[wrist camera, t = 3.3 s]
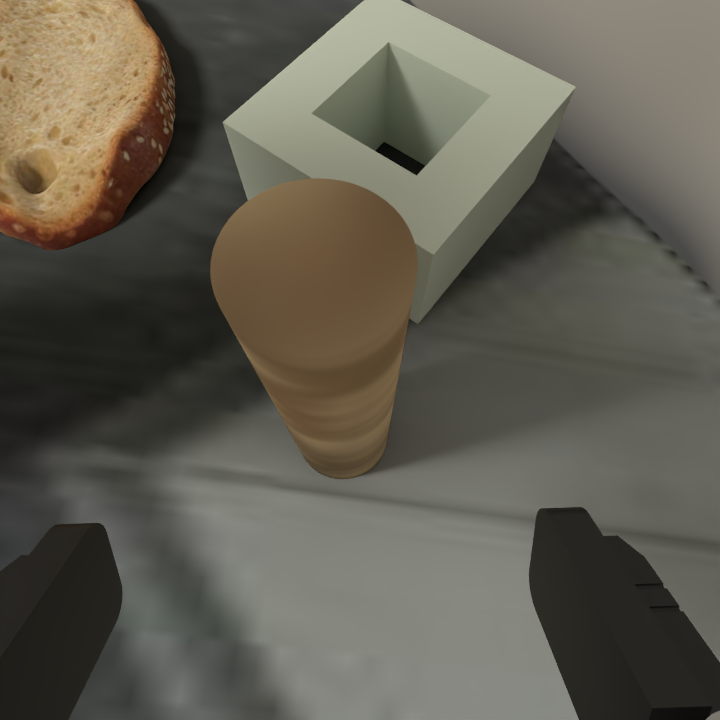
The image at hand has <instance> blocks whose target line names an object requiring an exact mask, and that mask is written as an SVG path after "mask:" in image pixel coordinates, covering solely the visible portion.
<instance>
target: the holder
mask: <svg viewBox="0 0 720 720" xmlns="http://www.w3.org/2000/svg"><path fill="white" fill-rule="evenodd" d="M575 88H576V87H575V86H573V85H571V84H569V83H567V82H565V81H563V80H560V79H559V78H557V77H555V76H553V75H551V74H549V73H547V72H545V71H543V70H541V69H538V68H537V67H534V66H532V65H530V64H528V63H526V62H524V61H522V60H520V59H518V58H516V57H514V56H512V55H510V54H508V53H506V52H504V51H502V50H500V49H498V48H496V47H494V46H492V45H490V44H488V43H486V42H484V41H482V40H479V39H478V38H476V37H474V36H472V35H470V34H468V33H466V32H464V31H462V30H460V29H458V28H456V27H453V26H452V25H449V24H448V23H446V22H444V21H441V20H439V19H437V18H435V17H433V16H431V15H429V14H427V13H425V12H423V11H421V10H419V9H417V8H415V7H413V6H411V5H409V4H407V3H405V2H403V1H401V0H364V1H363V2H362V3H360V4H359V5H358V6H357V7H356V8H355V9H354V10H352V11H351V12H350V13H349V14H348V15H347V16H345V17H344V18H343V19H342V20H341V21H340V22H338V23H337V24H336V25H335V26H334V27H333V28H331V29H330V30H329V31H328V32H327V33H326V34H325V35H323V36H322V37H321V38H320V39H319V40H318V41H316V42H315V43H314V44H313V45H312V46H311V47H309V48H308V49H307V50H306V51H305V52H304V53H303V54H301V55H300V56H299V57H298V58H297V59H296V60H294V61H293V62H292V63H291V64H290V65H289V66H287V67H286V68H285V69H284V70H283V71H282V72H280V73H279V74H278V75H277V76H276V77H275V78H274V79H272V80H271V81H270V82H269V83H268V84H267V85H265V86H264V87H263V88H262V89H261V90H260V91H258V92H257V93H256V94H255V95H254V96H253V97H251V98H250V99H249V100H248V101H247V102H246V103H245V104H243V105H242V106H241V107H240V108H239V109H238V110H236V111H235V112H234V113H233V114H232V115H231V116H229V117H228V118H227V119H226V120H225V121H224V122H223V124H224V127H225V131H226V134H227V137H228V140H229V143H230V146H231V149H232V152H233V155H234V159H235V162H236V165H237V168H238V171H239V174H240V177H241V180H242V183H243V187H244V190H245V193H246V196H247V199H248V201H249V200H250V199H252V198H253V197H255V196H256V195H258V194H260V193H261V192H263V191H265V190H267V189H269V188H272V187H275V186H277V185H280V184H283V183H287V182H291V181H295V180H302V179H314V178H323V179H334V180H341V181H345V182H349V183H353V184H356V185H358V186H361V187H363V188H366V189H368V190H370V191H372V192H373V193H375V194H377V195H378V196H380V197H381V198H383V199H384V200H386V201H387V202H388V203H389V204H390V205H391V206H392V207H393V208H395V209H396V211H397V212H398V213H399V214H400V215H401V217H402V218H403V219H404V221H405V222H406V224H407V226H408V227H409V229H410V232H411V234H412V236H413V239H414V242H415V246H416V250H417V258H418V267H417V277H416V282H415V288H414V293H413V299H412V305H411V310H410V316H409V319H411V320H412V321H414V322H415V323H417V324H419V323H420V321H421V320H422V319H423V318H424V316H425V315H426V314H427V313H428V311H429V310H430V309H431V308H432V307H433V305H434V304H435V303H436V302H437V300H438V299H439V298H440V297H441V296H442V294H443V293H444V292H445V291H446V289H447V288H448V287H449V286H450V284H451V283H452V282H453V281H454V280H455V278H456V277H457V276H458V275H459V273H460V272H461V271H462V270H463V269H464V267H465V266H466V265H467V264H468V262H469V261H470V260H471V259H472V257H473V256H474V255H475V254H476V253H477V251H478V250H479V249H480V248H481V246H482V245H483V244H484V243H485V242H486V240H487V239H488V238H489V237H490V235H491V234H492V233H493V232H494V231H495V229H496V228H497V227H498V226H499V224H500V223H501V222H502V221H503V219H504V218H505V217H506V216H507V215H508V213H509V212H510V211H511V210H512V208H513V207H514V206H515V205H516V204H517V202H518V201H519V200H520V199H521V197H522V196H523V195H524V194H525V192H526V191H527V190H528V189H529V188H530V186H531V185H532V184H533V183H534V181H535V179H536V176H537V174H538V172H539V170H540V167H541V165H542V163H543V161H544V158H545V156H546V154H547V151H548V149H549V147H550V145H551V142H552V140H553V138H554V136H555V133H556V131H557V129H558V127H559V124H560V122H561V120H562V118H563V115H564V113H565V111H566V108H567V106H568V104H569V102H570V99H571V97H572V95H573V92H574V90H575ZM383 142H385V143H387V144H389V145H390V146H392V147H394V148H396V149H397V150H399V151H401V152H403V153H404V154H406V155H408V156H409V157H411V158H413V159H415V160H416V161H418V162H420V163H421V164H423V165H425V167H424V168H423V169H422V171H421V172H420V173H419V174H418V175H417V176H416V175H415V174H413V173H411V172H410V171H408V170H406V169H405V168H403V167H401V166H399V165H398V164H396V163H394V162H393V161H391V160H389V159H388V158H386V157H384V156H383V155H381V154H379V153H377V152H376V150H377V149H378V148H379V146H380V145H381V144H382V143H383Z"/></svg>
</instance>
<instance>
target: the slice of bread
mask: <svg viewBox="0 0 720 720" xmlns="http://www.w3.org/2000/svg"><path fill="white" fill-rule="evenodd" d="M174 87H175V79H174V76H173V73H172V70H171V65H170V62H169V59H168V55H167V53H166V51H165V49H164V47H163V45H162V43H161V41H160V39H159V37H158V36H157V35H156V33H155V31H154V30H153V29H152V27H151V26H150V25H149V23H148V22H147V20H146V18H145V17H144V15H143V13H142V11H141V9H140V8H139V6H138V5H137V4H136V2H135V1H134V0H0V232H2V233H4V234H5V235H8V236H10V237H13V238H16V239H20V240H23V241H26V242H29V243H32V244H34V245H36V246H39V247H41V248H43V249H45V250H59V249H64V248H67V247H70V246H72V245H75V244H77V243H80V242H82V241H85V240H87V239H90V238H92V237H95V236H97V235H99V234H102V233H104V232H106V231H108V230H110V229H111V228H113V227H114V226H116V225H117V224H118V223H119V222H120V221H121V219H122V218H123V215H124V212H125V210H126V208H127V207H128V205H129V204H130V202H131V201H132V199H133V198H134V196H135V195H136V194H137V192H138V191H139V189H140V188H141V187H142V186H143V185H144V184H145V183H146V182H147V181H148V180H149V179H150V178H151V177H152V176H153V175H154V174H155V172H156V171H157V169H158V168H159V166H160V165H161V163H162V161H163V159H164V157H165V155H166V153H167V151H168V148H169V145H170V142H171V140H172V137H173V124H174V120H175V91H174Z"/></svg>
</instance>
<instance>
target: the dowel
mask: <svg viewBox="0 0 720 720" xmlns="http://www.w3.org/2000/svg"><path fill="white" fill-rule="evenodd" d="M417 267H418V258H417V250H416V246H415V242H414V239H413V236H412V234H411V232H410V229H409V227H408V226H407V224H406V222H405V221H404V219H403V218H402V217H401V215H400V214H399V213H398V212H397V211H396V209H395V208H393V207H392V206H391V205H390V204H389V203H388V202H387V201H386V200H384V199H383V198H381V197H380V196H378V195H377V194H375V193H373V192H372V191H370V190H368V189H366V188H363V187H361V186H358V185H356V184H353V183H349V182H345V181H341V180H334V179H323V178H314V179H302V180H295V181H291V182H287V183H283V184H280V185H277V186H275V187H272V188H269V189H267V190H265V191H263V192H261V193H260V194H258V195H256V196H255V197H253V198H252V199H250V200H249V201H247V202H246V203H245V204H244V205H242V206H241V207H240V208H239V209H238V210H237V211H236V212H235V213H234V214H233V215H232V216H231V217H230V219H229V220H228V221H227V223H226V224H225V225H224V227H223V228H222V230H221V232H220V234H219V236H218V238H217V240H216V243H215V246H214V248H213V253H212V258H211V268H210V275H211V284H212V288H213V292H214V296H215V298H216V300H217V303H218V305H219V307H220V309H221V311H222V312H223V314H224V316H225V318H226V319H227V321H228V323H229V325H230V326H231V328H232V330H233V332H234V334H235V335H236V337H237V339H238V341H239V342H240V344H241V346H242V348H243V350H244V351H245V353H246V355H247V357H248V358H249V360H250V362H251V364H252V366H253V367H254V369H255V371H256V373H257V374H258V376H259V378H260V380H261V382H262V383H263V385H264V387H265V389H266V390H267V392H268V394H269V396H270V398H271V399H272V401H273V403H274V405H275V406H276V408H277V410H278V412H279V414H280V415H281V417H282V419H283V421H284V422H285V424H286V426H287V428H288V430H289V431H290V433H291V435H292V437H293V438H294V440H295V442H296V444H297V446H298V447H299V449H300V451H301V453H302V454H303V456H304V458H305V459H306V461H307V462H308V463H309V465H310V466H311V467H312V468H314V469H315V470H316V471H318V472H319V473H321V474H323V475H325V476H328V477H331V478H335V479H349V478H354V477H357V476H360V475H362V474H364V473H366V472H367V471H369V470H370V469H371V468H372V467H374V466H375V465H376V463H377V462H378V461H379V460H380V458H381V457H382V455H383V453H384V450H385V447H386V443H387V438H388V432H389V427H390V421H391V416H392V410H393V404H394V399H395V393H396V388H397V382H398V377H399V371H400V366H401V360H402V355H403V349H404V343H405V338H406V332H407V327H408V321H409V316H410V310H411V305H412V299H413V293H414V288H415V282H416V277H417Z"/></svg>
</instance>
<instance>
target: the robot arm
mask: <svg viewBox="0 0 720 720" xmlns="http://www.w3.org/2000/svg"><path fill="white" fill-rule="evenodd" d="M529 583H530V591H531V596H532V600H533V604H534V607H535V610H536V612H537V615H538V617H539V620H540V622H541V625H542V627H543V630H544V632H545V635H546V638H547V640H548V643H549V645H550V648H551V650H552V653H553V655H554V658H555V660H556V663H557V665H558V668H559V670H560V673H561V675H562V678H563V680H564V683H565V685H566V688H567V690H568V693H569V695H570V698H571V701H572V703H573V706H574V708H575V711H576V713H577V716H578V718H579V720H720V662H719V661H718V660H717V658H716V657H715V655H714V654H713V653H712V651H711V650H710V648H709V647H708V646H707V644H706V643H705V641H704V640H703V639H702V637H701V636H700V634H699V633H698V632H697V630H696V629H695V627H694V626H693V624H692V623H691V622H690V620H689V619H688V617H687V616H686V615H685V613H684V612H683V611H680V609H679V605H678V603H677V602H676V601H675V599H674V598H673V596H672V595H671V594H670V592H669V591H668V589H664V587H663V582H662V581H661V580H660V578H659V577H658V575H657V574H656V573H655V571H654V570H653V568H652V567H651V565H650V564H649V563H648V561H647V560H646V558H645V557H644V556H642V555H641V554H640V553H639V552H637V551H636V550H635V549H634V548H632V547H631V546H630V545H629V544H627V543H626V542H625V541H623V540H622V539H621V538H620V537H618V536H603V535H602V533H601V532H600V530H599V529H598V527H597V526H596V524H595V523H594V521H593V519H592V518H591V516H590V515H589V513H588V512H587V511H586V510H585V509H584V508H582V507H571V508H543V509H540V510H539V511H538V513H537V516H536V523H535V531H534V538H533V546H532V554H531V561H530V569H529ZM121 604H122V584H121V580H120V577H119V573H118V570H117V566H116V563H115V559H114V556H113V552H112V549H111V545H110V542H109V539H108V535H107V532H106V529H105V528H104V526H103V525H102V524H100V523H85V524H59V525H55V526H53V527H52V528H50V529H49V531H48V532H47V533H46V534H45V535H44V537H43V538H42V539H41V540H40V542H39V543H38V544H37V546H36V547H35V548H34V549H33V551H32V552H31V553H30V554H29V555H22V556H20V557H18V558H17V559H16V560H15V561H13V562H12V563H11V564H9V565H8V566H7V567H5V568H4V569H3V570H1V571H0V720H68V719H69V717H70V715H71V713H72V711H73V709H74V707H75V705H76V703H77V701H78V699H79V697H80V695H81V693H82V691H83V689H84V687H85V685H86V683H87V680H88V678H89V676H90V674H91V672H92V670H93V668H94V666H95V664H96V662H97V660H98V658H99V656H100V654H101V652H102V650H103V648H104V646H105V644H106V642H107V640H108V638H109V636H110V634H111V632H112V630H113V628H114V626H115V624H116V621H117V619H118V616H119V613H120V609H121Z"/></svg>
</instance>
